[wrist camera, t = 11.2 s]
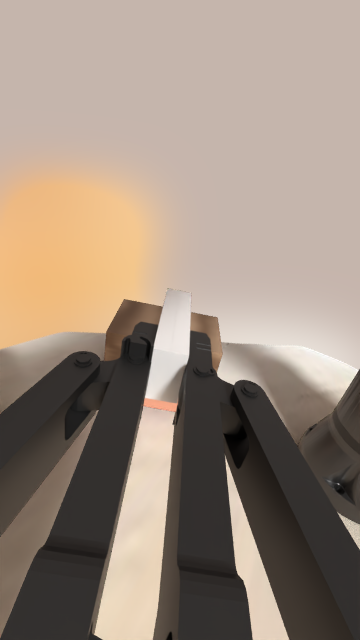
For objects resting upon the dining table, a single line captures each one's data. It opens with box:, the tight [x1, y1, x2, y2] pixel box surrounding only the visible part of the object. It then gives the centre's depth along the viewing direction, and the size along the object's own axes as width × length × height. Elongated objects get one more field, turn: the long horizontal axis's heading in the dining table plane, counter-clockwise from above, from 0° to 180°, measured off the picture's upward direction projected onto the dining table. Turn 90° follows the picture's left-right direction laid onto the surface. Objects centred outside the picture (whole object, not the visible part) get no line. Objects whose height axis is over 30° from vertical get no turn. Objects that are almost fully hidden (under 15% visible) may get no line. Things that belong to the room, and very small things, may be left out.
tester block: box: [104, 299, 223, 373], centre depth 51 cm, size 18×12×12 cm, turn 87°
